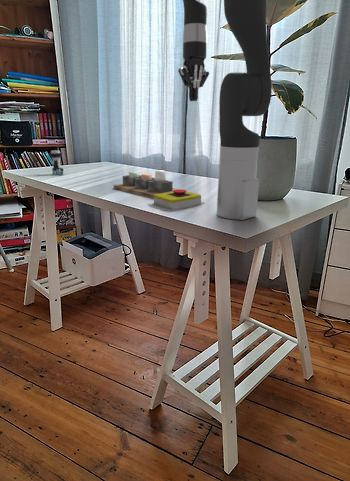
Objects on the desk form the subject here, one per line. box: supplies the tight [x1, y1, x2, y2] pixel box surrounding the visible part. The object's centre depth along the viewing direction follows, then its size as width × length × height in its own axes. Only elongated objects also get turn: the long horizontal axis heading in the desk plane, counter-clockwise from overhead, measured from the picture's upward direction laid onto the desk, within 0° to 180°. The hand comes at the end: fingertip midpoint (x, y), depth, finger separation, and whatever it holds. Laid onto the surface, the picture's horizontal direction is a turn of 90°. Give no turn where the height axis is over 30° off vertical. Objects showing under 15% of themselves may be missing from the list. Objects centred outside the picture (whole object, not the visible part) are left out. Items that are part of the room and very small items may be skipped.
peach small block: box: [140, 173, 153, 180], centre depth 115 cm, size 3×3×4 cm
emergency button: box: [147, 188, 206, 212], centre depth 98 cm, size 9×4×15 cm
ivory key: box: [154, 169, 167, 183], centre depth 109 cm, size 3×3×4 cm
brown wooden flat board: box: [113, 174, 178, 200], centre depth 115 cm, size 22×12×4 cm, turn 44°
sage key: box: [128, 171, 140, 177], centre depth 120 cm, size 3×3×4 cm
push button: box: [48, 150, 64, 176], centre depth 145 cm, size 7×5×10 cm
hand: (193, 100), depth 114 cm, fingers closed
